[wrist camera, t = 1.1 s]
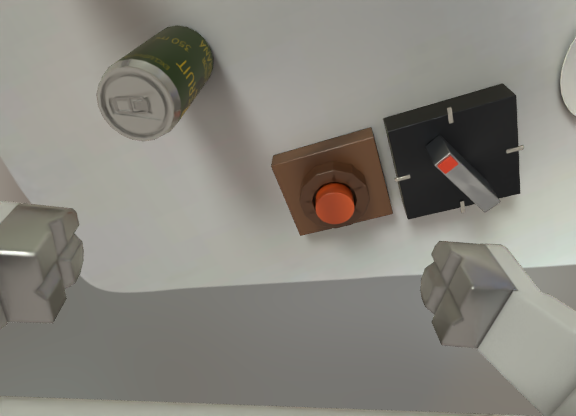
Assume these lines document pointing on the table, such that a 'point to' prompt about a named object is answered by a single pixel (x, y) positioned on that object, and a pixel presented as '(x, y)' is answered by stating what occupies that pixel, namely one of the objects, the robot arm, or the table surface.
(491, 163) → the black block
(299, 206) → the brown push button box
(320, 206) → the button
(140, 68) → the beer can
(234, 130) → the table surface
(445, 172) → the silver bar
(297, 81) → the table surface
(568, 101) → the pudding
